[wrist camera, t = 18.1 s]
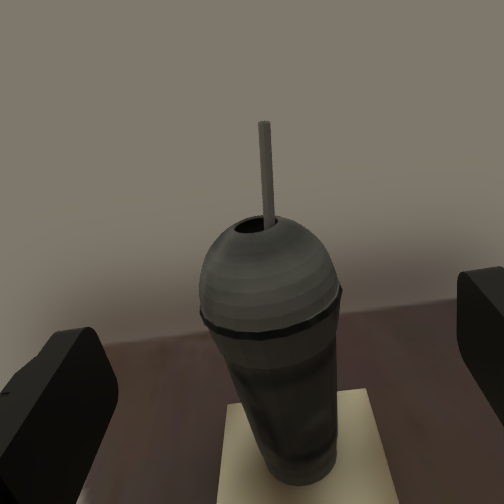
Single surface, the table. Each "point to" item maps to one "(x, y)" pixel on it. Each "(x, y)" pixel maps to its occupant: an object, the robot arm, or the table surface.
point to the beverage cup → (278, 333)
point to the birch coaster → (324, 491)
